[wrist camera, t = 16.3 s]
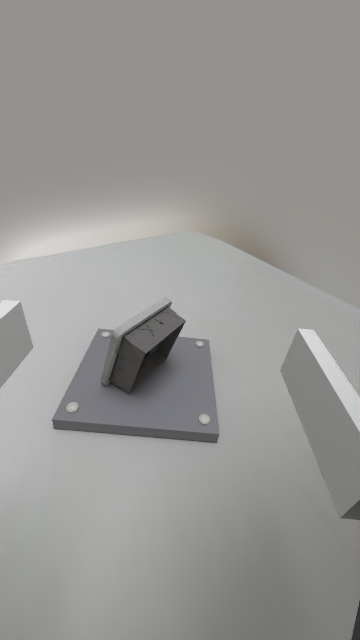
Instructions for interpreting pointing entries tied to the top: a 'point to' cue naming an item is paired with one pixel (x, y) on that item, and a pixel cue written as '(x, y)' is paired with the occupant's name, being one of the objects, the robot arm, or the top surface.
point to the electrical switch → (141, 346)
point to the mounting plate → (145, 396)
